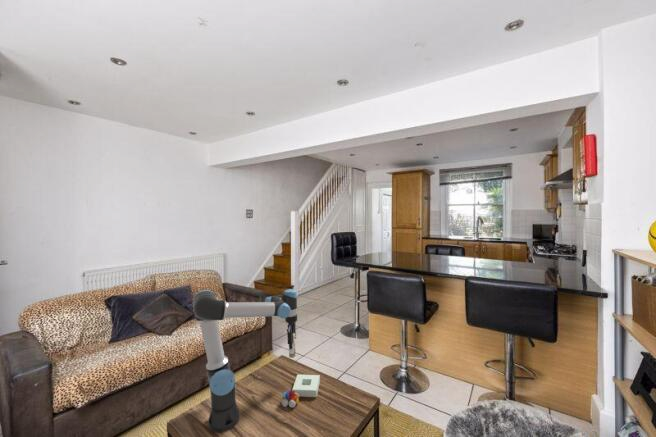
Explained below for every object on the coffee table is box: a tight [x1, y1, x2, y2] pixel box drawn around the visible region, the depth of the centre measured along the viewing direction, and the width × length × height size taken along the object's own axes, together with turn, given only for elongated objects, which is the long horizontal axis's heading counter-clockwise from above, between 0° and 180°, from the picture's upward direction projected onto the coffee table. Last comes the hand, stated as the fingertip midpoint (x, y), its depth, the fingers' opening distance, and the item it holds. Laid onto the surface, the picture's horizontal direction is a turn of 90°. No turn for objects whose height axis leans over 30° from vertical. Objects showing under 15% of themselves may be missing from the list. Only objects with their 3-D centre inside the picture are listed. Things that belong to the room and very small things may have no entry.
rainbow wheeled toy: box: [281, 389, 300, 409], centre depth 152 cm, size 8×10×7 cm
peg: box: [288, 333, 297, 358], centre depth 172 cm, size 4×4×14 cm
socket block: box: [291, 374, 321, 398], centre depth 164 cm, size 14×14×4 cm
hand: (292, 351), depth 172 cm, fingers closed on peg, 4 cm apart
